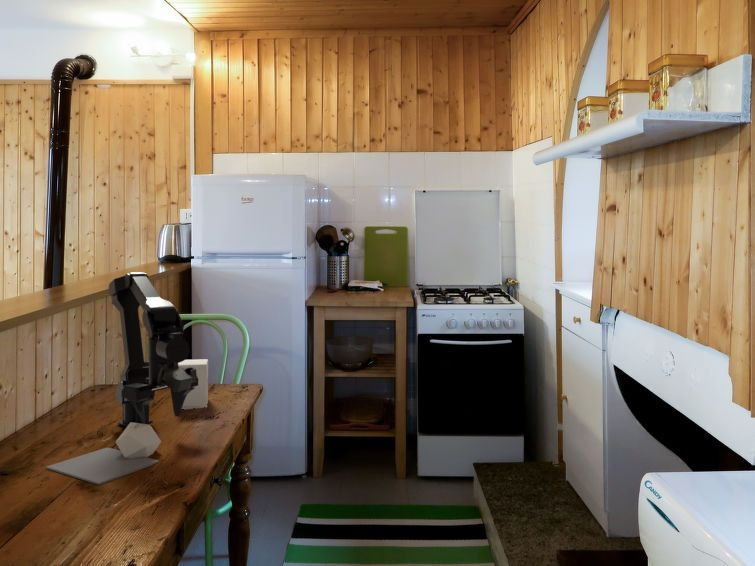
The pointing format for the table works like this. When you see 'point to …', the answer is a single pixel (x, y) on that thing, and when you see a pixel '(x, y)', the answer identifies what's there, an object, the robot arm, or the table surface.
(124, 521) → the table surface
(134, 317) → the robot arm
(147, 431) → the grey faceted block
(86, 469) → the mat
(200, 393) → the supplement box
